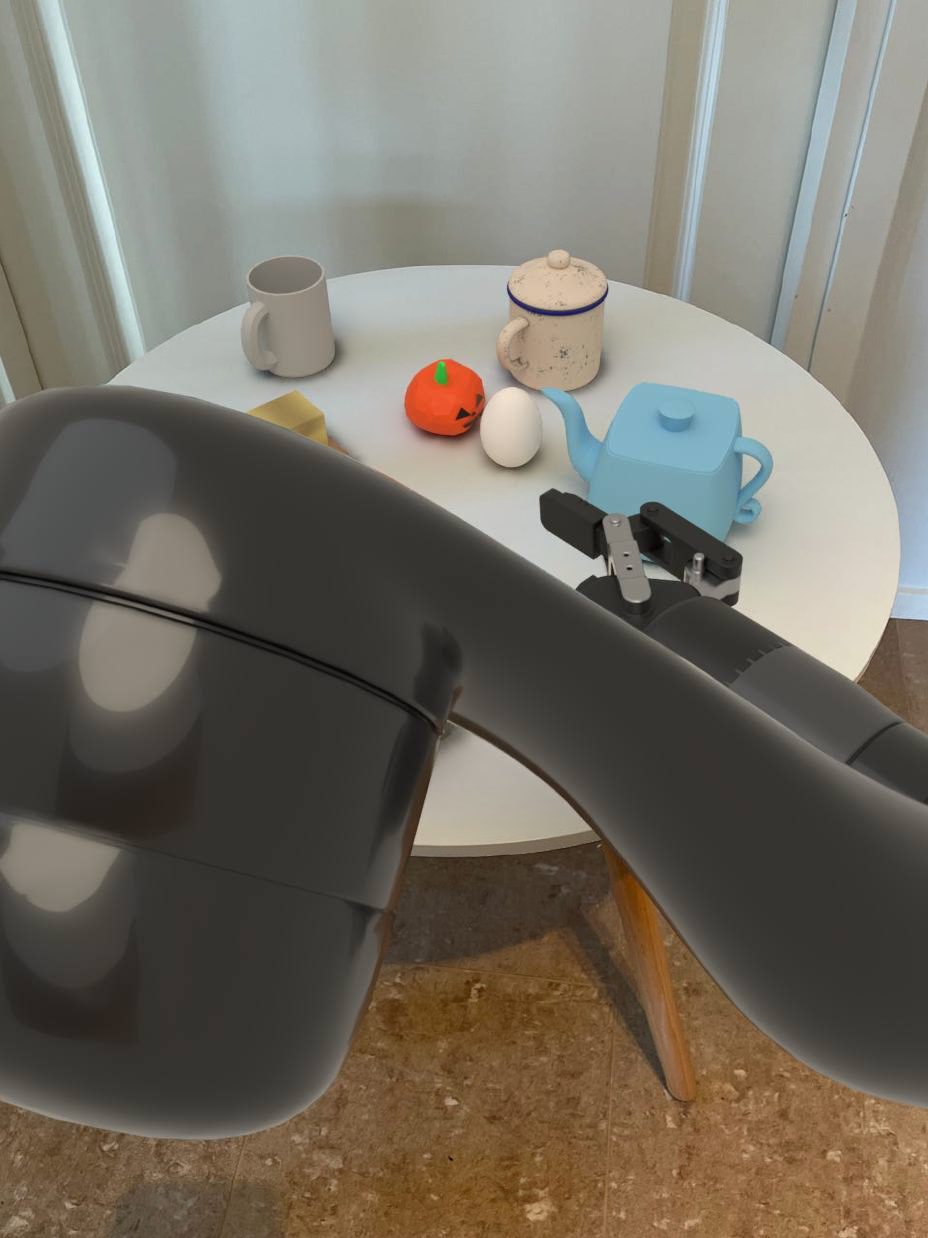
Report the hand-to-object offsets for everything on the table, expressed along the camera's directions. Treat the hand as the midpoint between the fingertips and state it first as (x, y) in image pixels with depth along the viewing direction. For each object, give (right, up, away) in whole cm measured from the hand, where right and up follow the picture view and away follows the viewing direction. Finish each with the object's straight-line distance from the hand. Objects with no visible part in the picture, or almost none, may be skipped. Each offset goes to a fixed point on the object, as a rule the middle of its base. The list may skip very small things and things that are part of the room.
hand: (479, 546), depth 50 cm
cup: (-18, +21, +52) cm, 59 cm away
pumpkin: (-2, +14, +45) cm, 47 cm away
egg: (+3, +10, +41) cm, 42 cm away
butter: (-18, +9, +41) cm, 46 cm away
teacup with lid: (+7, +20, +50) cm, 54 cm away
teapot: (+14, +4, +36) cm, 38 cm away
